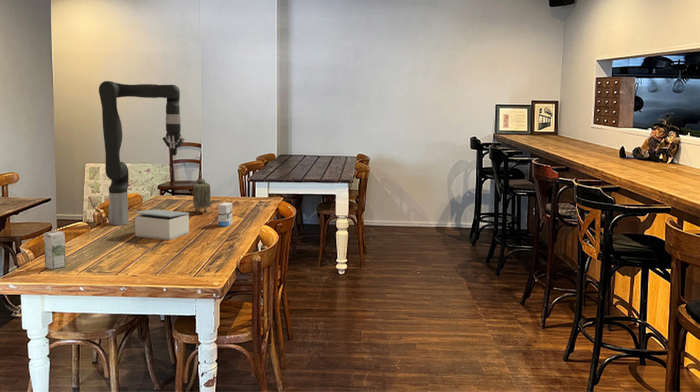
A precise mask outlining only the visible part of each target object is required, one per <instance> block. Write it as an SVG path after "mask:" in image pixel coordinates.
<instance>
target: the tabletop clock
mask: <svg viewBox="0 0 700 392" xmlns="http://www.w3.org/2000/svg"><path fill="white" fill-rule="evenodd" d="M202 176H203V175H202V170H200V171H199V178H197V179H196V182H192V195H193V197H192V200H193V201H192V202H193V203H192V205H193V208H194V210H195V211H196V215H199V214H200V210H201V209H202V208H203V209H204V210H203V212H204V213H207V212H208V211H207V209H206V208H208V207H211V203H212V202H211V185H210V183H208V182H206V180H205V179H204V178H203V177H202Z"/></svg>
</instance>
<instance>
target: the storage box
mask: <svg viewBox="0 0 700 392" xmlns="http://www.w3.org/2000/svg"><path fill="white" fill-rule="evenodd" d="M189 215H190V213H189V214H186V215H180V216H173V217H164V216H155V215H146V214H138V215H135V216H134V223H135V225H134V226H135V227H134V228H135V237H139V238H146V239H148V238H149V239H155V240H163V241H171V240H175V239H178V238H180V237H183V236H186V235H188V234H190V221H189V219H190V216H189Z"/></svg>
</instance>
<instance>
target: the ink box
mask: <svg viewBox="0 0 700 392" xmlns="http://www.w3.org/2000/svg"><path fill="white" fill-rule="evenodd" d="M217 206H218V207H217V209H218V212H217V213H218V217H217V219H218V227H223V228H225V227H228V226H231V225H233V202H225V201H224V202H222V203H218V205H217Z"/></svg>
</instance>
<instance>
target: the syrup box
mask: <svg viewBox="0 0 700 392" xmlns="http://www.w3.org/2000/svg"><path fill="white" fill-rule="evenodd" d="M65 235H66V234H65V232H63V231H61V230H53V231H47V232H43V250H44V251H43V252H44V267H45V268H47V269H50V270H57V269H60V268H62V269H63V268H65V267H67V265H66V263H67V262H66V259H67V258H66V239H65V237H66V236H65Z"/></svg>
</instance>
